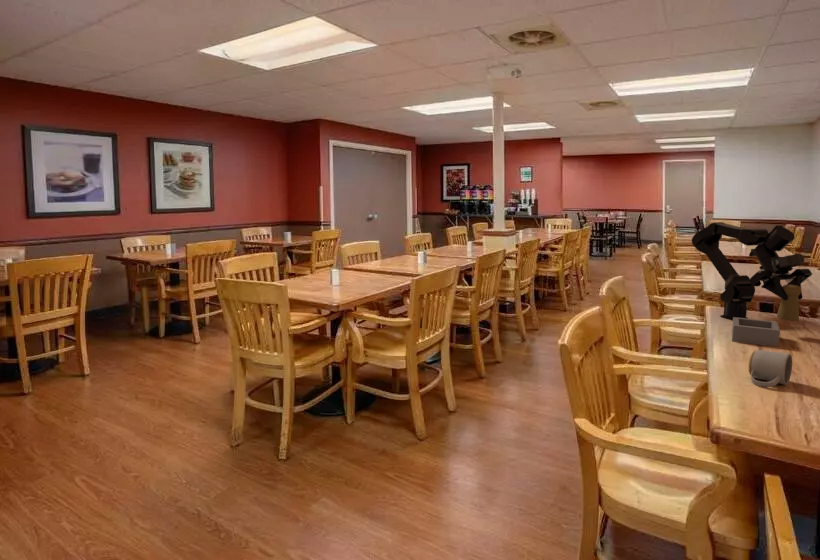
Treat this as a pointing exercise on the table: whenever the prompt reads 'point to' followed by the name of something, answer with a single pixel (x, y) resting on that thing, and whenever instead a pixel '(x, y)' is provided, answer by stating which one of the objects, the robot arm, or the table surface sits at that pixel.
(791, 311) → the cork
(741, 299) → the robot arm
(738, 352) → the table surface
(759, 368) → the ceramic mug
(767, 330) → the holder block
